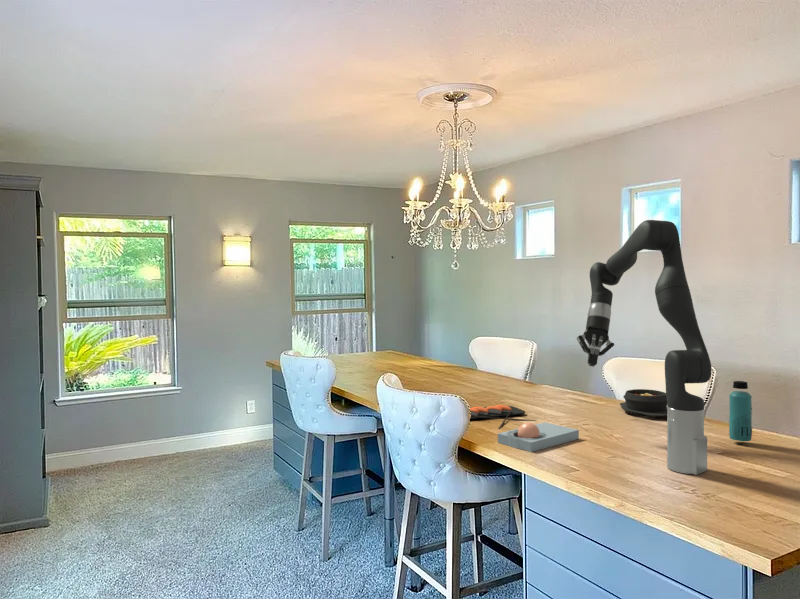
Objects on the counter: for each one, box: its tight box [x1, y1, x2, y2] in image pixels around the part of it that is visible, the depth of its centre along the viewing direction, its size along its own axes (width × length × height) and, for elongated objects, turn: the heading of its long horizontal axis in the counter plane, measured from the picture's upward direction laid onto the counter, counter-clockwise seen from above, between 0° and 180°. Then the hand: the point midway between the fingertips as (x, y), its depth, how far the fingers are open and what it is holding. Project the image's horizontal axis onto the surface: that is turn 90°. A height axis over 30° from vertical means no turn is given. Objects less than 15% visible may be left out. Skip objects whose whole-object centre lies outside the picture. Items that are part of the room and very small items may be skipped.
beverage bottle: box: [728, 380, 753, 442], centre depth 189 cm, size 6×7×20 cm
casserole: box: [619, 388, 667, 417], centre depth 234 cm, size 25×19×8 cm
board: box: [497, 421, 580, 453], centre depth 195 cm, size 14×24×3 cm, turn 127°
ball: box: [517, 421, 540, 438], centre depth 191 cm, size 7×7×7 cm
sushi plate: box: [469, 404, 537, 430], centre depth 227 cm, size 29×30×4 cm
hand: (591, 365), depth 201 cm, fingers closed
